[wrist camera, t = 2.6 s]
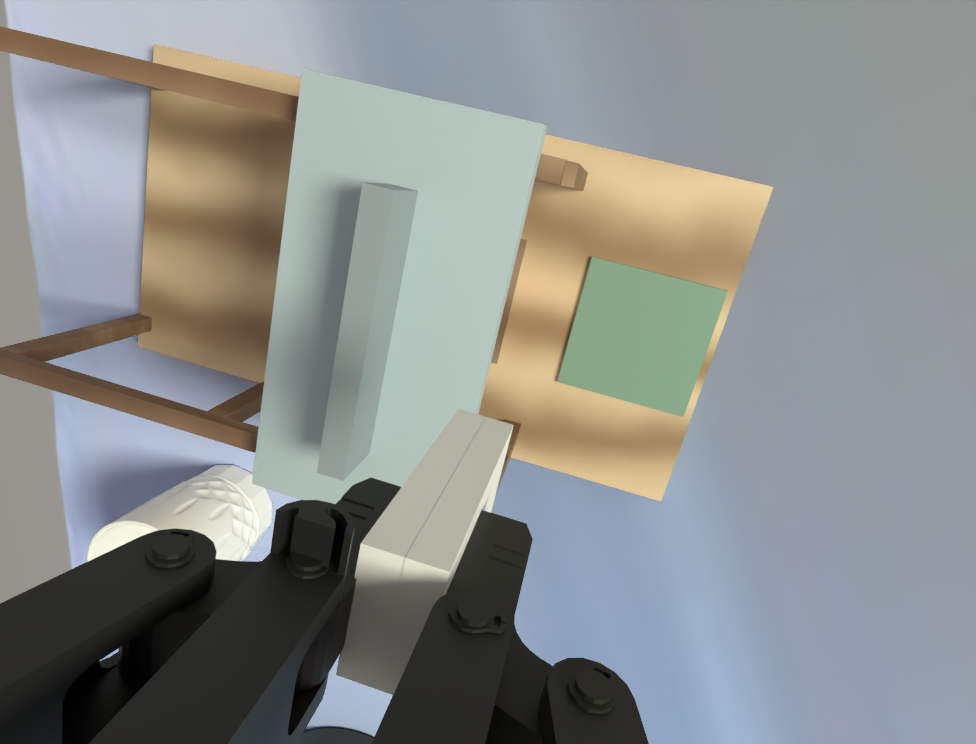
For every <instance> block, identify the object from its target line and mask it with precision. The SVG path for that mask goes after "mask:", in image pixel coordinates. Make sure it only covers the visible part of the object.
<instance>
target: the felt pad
mask: <svg viewBox="0 0 976 744" xmlns="http://www.w3.org/2000/svg"><path fill="white" fill-rule="evenodd" d="M727 292H728V291H727V290H723V289H719V288H715V287H711V286H707V285H703V284H699V283H695V282H692V281H688V280H684V279H680V278H676V277H672V276H668V275H664V274H660V273H656V272H652V271H648V270H644V269H640V268H636V267H632V266H628V265H624V264H620V263H616V262H612V261H608V260H604V259H600V258H596V257H592V259H591V262H590V266H589V269H588V273H587V276H586V280H585V284H584V287H583V291H582V294H581V298H580V302H579V305H578V309H577V312H576V316H575V320H574V323H573V327H572V330H571V334H570V338H569V341H568V345H567V348H566V352H565V356H564V359H563V363H562V366H561V370H560V373H559V377H558V381H557V382H559V383H563V384H566V385H570V386H574V387H577V388H581V389H584V390H588V391H592V392H595V393H599V394H602V395H606V396H610V397H613V398H617V399H620V400H624V401H628V402H631V403H635V404H638V405H642V406H646V407H649V408H653V409H656V410H660V411H663V412H667V413H671V414H674V415H678V416H681V417H684V414H685V411H686V409H687V406H688V403H689V400H690V397H691V394H692V392H693V389H694V386H695V383H696V380H697V377H698V375H699V372H700V369H701V366H702V363H703V360H704V358H705V355H706V352H707V349H708V346H709V343H710V340H711V338H712V335H713V332H714V329H715V326H716V323H717V321H718V318H719V315H720V312H721V309H722V306H723V304H724V301H725V298H726V295H727Z"/></svg>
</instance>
